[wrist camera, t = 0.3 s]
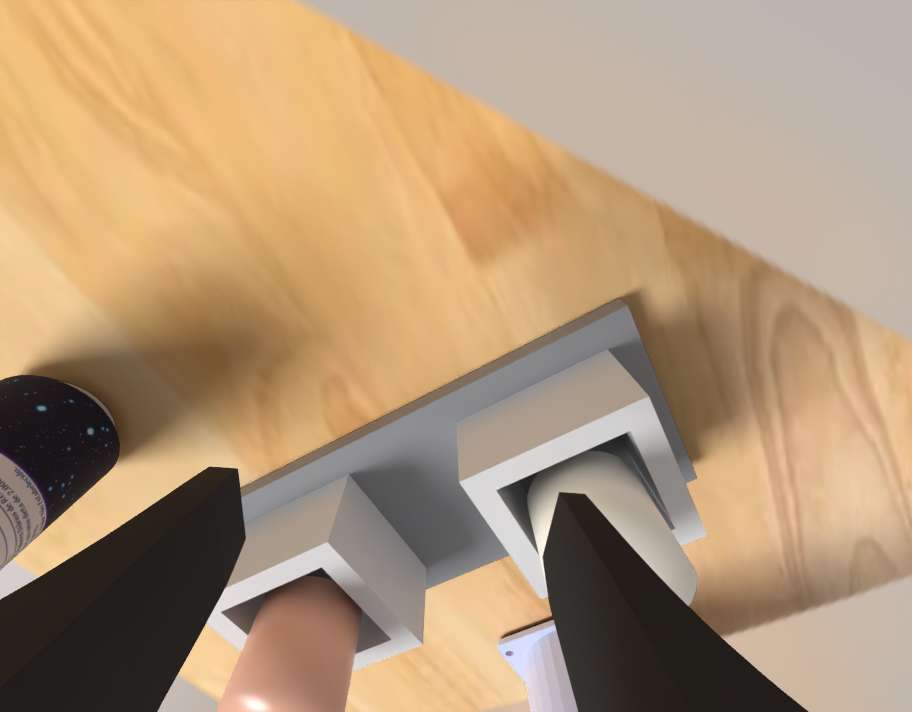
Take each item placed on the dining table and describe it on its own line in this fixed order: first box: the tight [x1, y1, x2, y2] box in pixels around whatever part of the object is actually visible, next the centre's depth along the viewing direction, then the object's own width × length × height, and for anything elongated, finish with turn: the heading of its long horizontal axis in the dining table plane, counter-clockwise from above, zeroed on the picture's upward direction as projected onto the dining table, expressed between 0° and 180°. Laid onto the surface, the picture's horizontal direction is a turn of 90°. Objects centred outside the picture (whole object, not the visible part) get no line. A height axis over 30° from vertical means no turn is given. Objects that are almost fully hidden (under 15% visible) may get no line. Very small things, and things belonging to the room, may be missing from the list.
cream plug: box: [527, 451, 697, 606], centre depth 15 cm, size 4×4×4 cm
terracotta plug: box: [216, 576, 362, 712], centre depth 17 cm, size 4×4×4 cm
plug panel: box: [206, 298, 707, 672], centre depth 20 cm, size 10×23×5 cm, turn 119°
